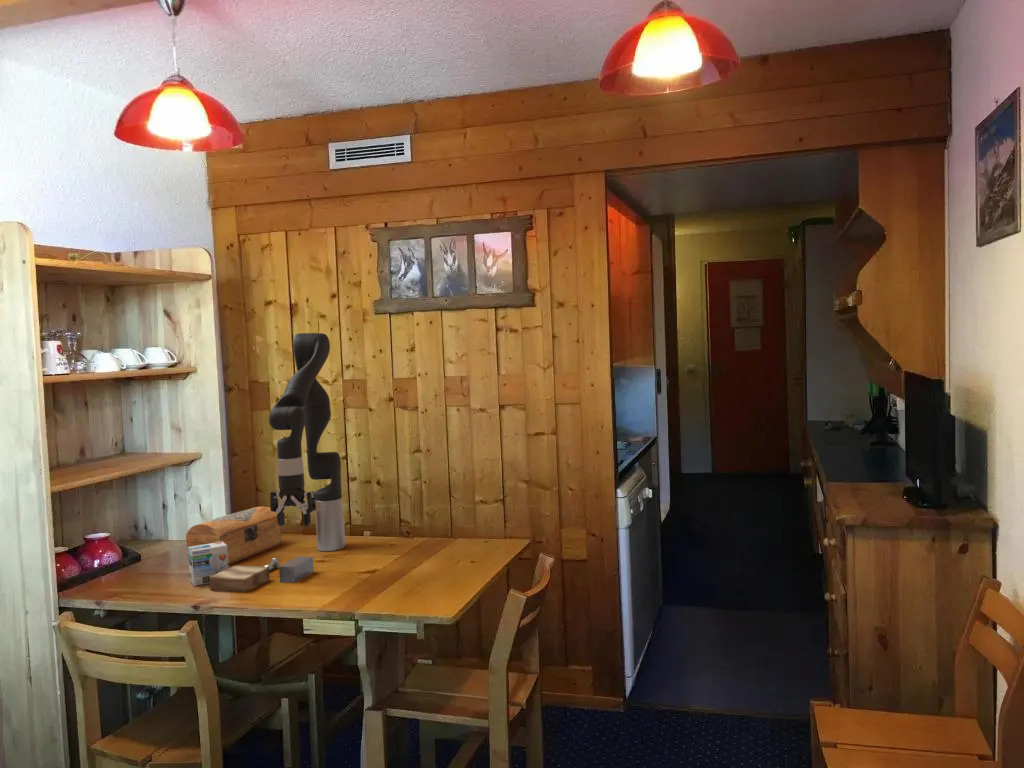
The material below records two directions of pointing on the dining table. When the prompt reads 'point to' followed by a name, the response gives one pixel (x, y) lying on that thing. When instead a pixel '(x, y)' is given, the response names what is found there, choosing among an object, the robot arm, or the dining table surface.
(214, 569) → the light bulb box
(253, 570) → the stand
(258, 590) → the dining table surface
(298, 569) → the block
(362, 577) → the dining table surface
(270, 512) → the wooden box
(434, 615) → the dining table surface
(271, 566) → the bolt
